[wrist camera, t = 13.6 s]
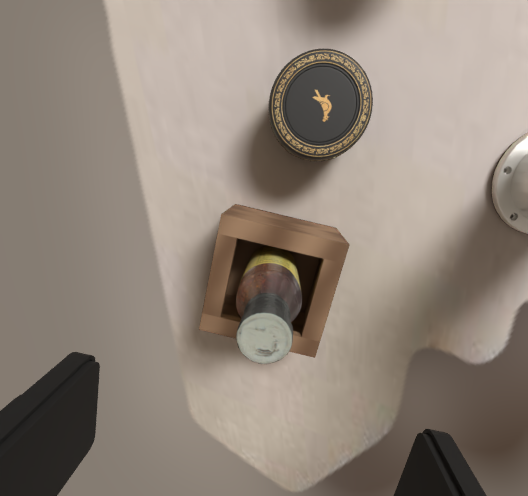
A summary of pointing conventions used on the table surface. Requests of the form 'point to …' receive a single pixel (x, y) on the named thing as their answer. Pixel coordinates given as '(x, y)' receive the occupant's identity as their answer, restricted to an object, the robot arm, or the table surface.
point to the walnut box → (285, 237)
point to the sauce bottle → (268, 305)
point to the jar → (320, 104)
